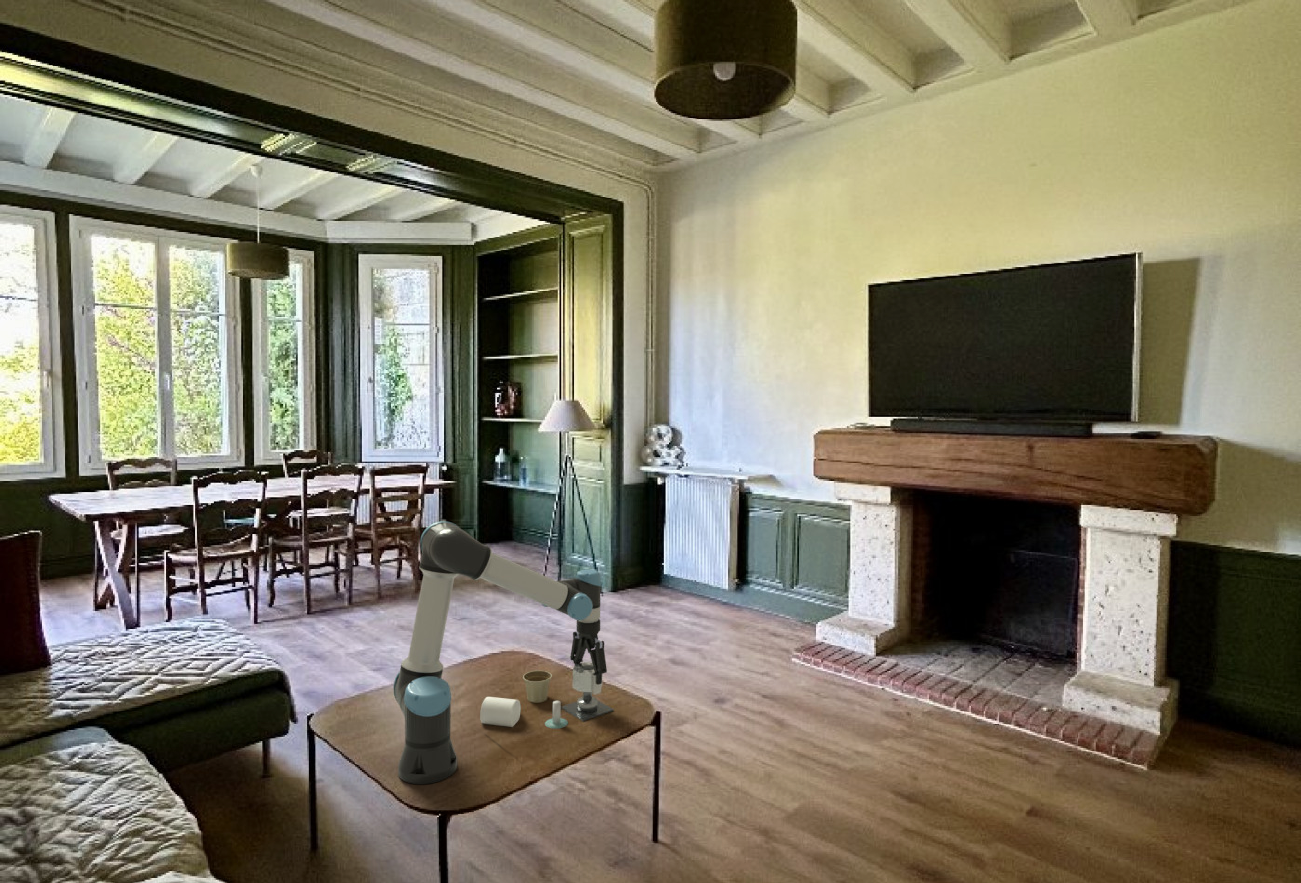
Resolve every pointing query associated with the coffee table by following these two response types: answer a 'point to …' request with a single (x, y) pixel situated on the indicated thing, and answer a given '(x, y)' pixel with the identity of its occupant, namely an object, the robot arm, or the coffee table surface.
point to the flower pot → (537, 685)
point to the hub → (587, 707)
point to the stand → (556, 717)
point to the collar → (583, 677)
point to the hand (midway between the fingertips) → (587, 688)
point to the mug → (500, 711)
